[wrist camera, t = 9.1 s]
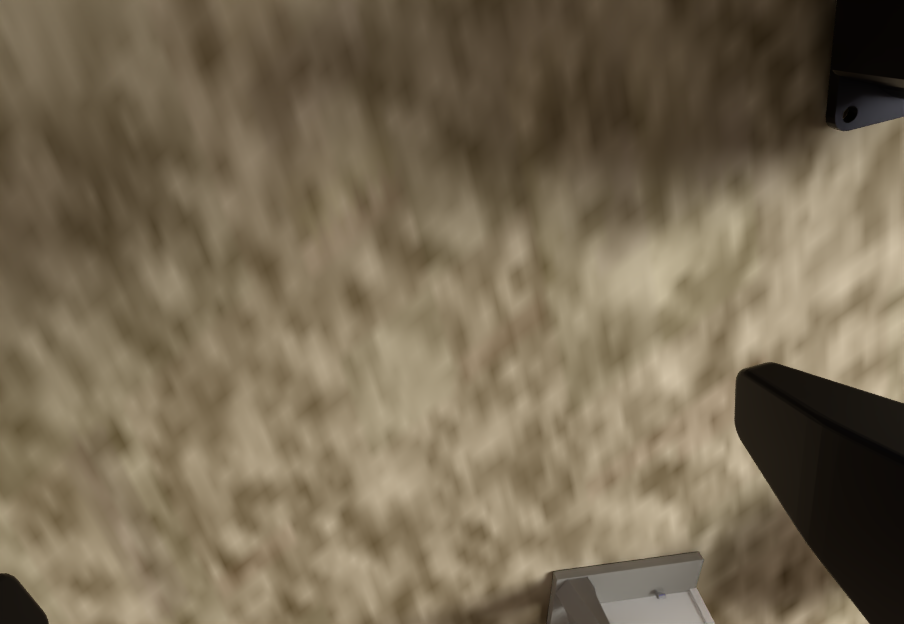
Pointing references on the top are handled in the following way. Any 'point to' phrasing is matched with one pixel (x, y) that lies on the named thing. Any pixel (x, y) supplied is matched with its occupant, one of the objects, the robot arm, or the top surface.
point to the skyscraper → (630, 593)
